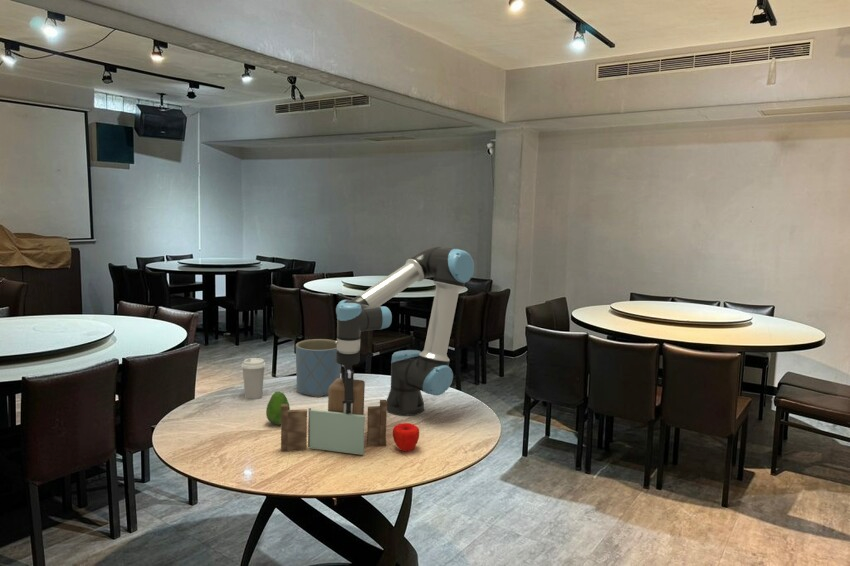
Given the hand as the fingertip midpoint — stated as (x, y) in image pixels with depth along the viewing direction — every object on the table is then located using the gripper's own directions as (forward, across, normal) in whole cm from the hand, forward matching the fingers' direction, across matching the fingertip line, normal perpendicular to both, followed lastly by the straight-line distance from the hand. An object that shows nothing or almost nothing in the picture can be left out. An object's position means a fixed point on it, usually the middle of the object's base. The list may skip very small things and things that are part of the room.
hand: (346, 414), depth 190 cm
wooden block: (+9, 0, 0) cm, 9 cm away
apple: (+10, +7, +19) cm, 23 cm away
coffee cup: (+11, -50, -33) cm, 60 cm away
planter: (+11, -55, -7) cm, 56 cm away
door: (+9, +6, -4) cm, 12 cm away
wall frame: (+10, +3, -3) cm, 11 cm away
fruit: (+11, -20, -22) cm, 32 cm away
